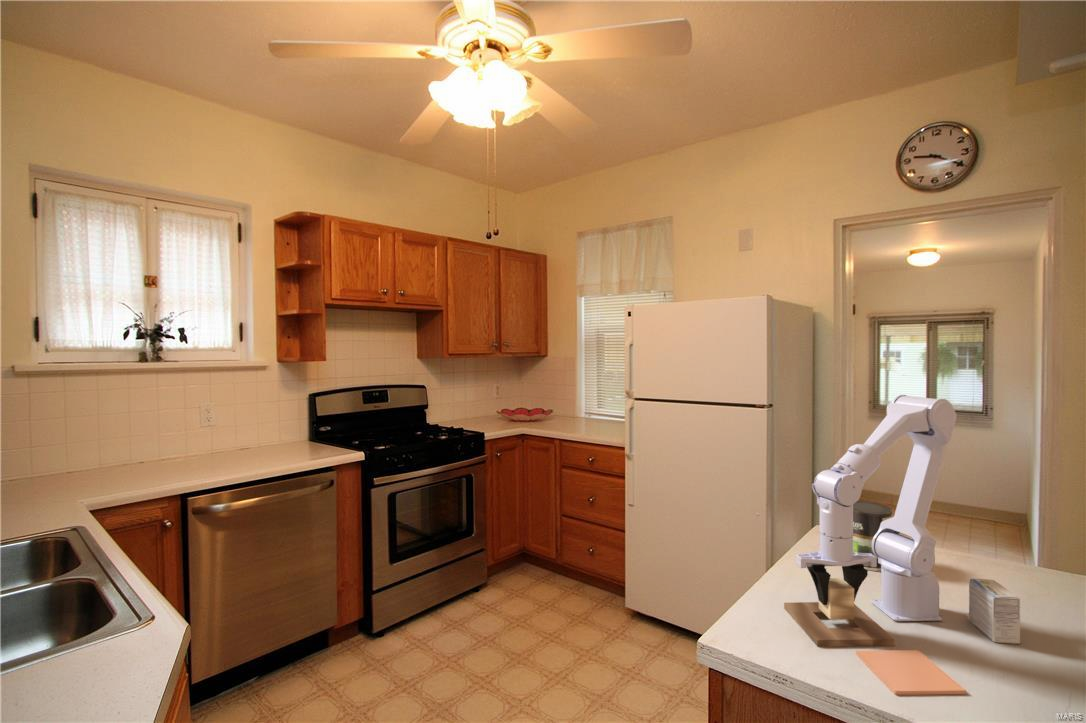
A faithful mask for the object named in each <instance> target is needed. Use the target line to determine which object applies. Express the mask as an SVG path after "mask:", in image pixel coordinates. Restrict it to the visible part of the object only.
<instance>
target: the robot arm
mask: <svg viewBox="0 0 1086 723" xmlns="http://www.w3.org/2000/svg"><path fill="white" fill-rule="evenodd" d="M957 418H958V415H957V413H956V411H955V408H954V407H953V405H952V403H951V402H950V401H949V400H947V399H945V398H930V397H921V396H912V395H906V394H899V395H896V396H895V397H894V398H893V399H892V400H891V402H890V403H889V404H887V406H886V415H885V417H884V418H883V419H882V421H881V422H880V423H879V425H878V426H877V427H876V428H875V430H873V432H872V433H871V434H870V436H869V437H868V438H867V440H866V441H865V442H864V443H863V444H862V443H858V444H857V443H856V444H853V445H851V446H850V447H848V449H847V451H846V453H845V454H843V455H842V457H840V458H839V460H838V461H837V462H836V463H835V464H834V465H833V466H832V467H831V468H830V469H826V470H825V469H824V470H822V471H820V472H818V474H817V475H816V476H815V478H814V481H813V483H812V484H811V489H812V491H813V493H814V495H815V496H816V504H817V505H818V507H819V550H817V551H813V552H808V553H802V554H801V553H800V554H799V553H798V554H796V557H795V558H796V561H795V562H796V565H797V566H798V567H799V568H800V569H807V570H808V572H809V574H810V576H811V578H812V581H813V584H814V585H815V590H816V594H817V599H818V602H819V601H820V602H821V603H822V604H823V605H827V602H828V584H829V580H830V578H831V574H830V573H829V572H828V571H827V568H825V567H841V569H842V574H843V575H842V576H843V580H844V581H846V582H847V583H848V584H849V585H851V586H852V587H853V588H854V602H855V601H856V598H857V594H858V592H859V589H860V587H861V585H862V584H863V582H864V580H865V579H866V578H867V577H868V575H869V574H868V571H869V570H866V569H865V568H864V566H870V567H877V557H878V563H880V564H881V571H880V573H881V574H880V575H881V576H880V599H871V603H872V604H873V605H874V606H875V607H876V608H878V609H879V610H880V611H882V612H883V613H885V615H886V616H888V617H889V618H890V619H891V620H892V621H894V622H895V621H896V622H918V621H919V622H920V621H921V622H925V621H926V622H927V621H928V622H930V621H934V622H935V621H943V618H942V616H940V584H939V581H938V578H937V576H936V575H935V573H934V572H933V571H932V570H933V568H934V566H935V562H936V555H935V552H936V549H935V548H936V544H937V541H936V539H935V538H934V536H933V534H931V532H930V531H929V530H928V529H927V527H926V523H927V520H928V516H929V513H930V510H931V505H932V503H933V499H934V495H935V492H936V487H937V485H938V480H939V477H940V474H941V471H942V466H943V462H944V460H945V459H944V458H945V456H946V451H947V449H948V444H949V443H951V439H952V435H953V432H954V428H955V424H956V421H957ZM904 435H906V436H907V437H909V438H910V439H911V441H912V443H913V448H912V451H911V455H910V458H909V462H908V466H907V468H906V472H905V476H904V481H903V484H902V486H901V487H902V488H901V490H900V494H899V498H898V501H897V504H896V508H895V512H894V516H892V518H890V519H887V520H885V521H883V522H881V524H880V528H879V530H878V532H877V533H876V534H875V535H874V537H873V540H872V551H873V553H874V555H875V556H876V557H875V556H874V555H872V554H871V553H857V552H853V504H854V503H855V502H857V501H860V498H861V495H862V491H863V488H865V486H864V485H865V482H866V481H867V480H868V479H869V478H870V477H871V476H872V474H874V473H875V472H876V470H877V469H878V468H879V467H880V466H881V464H882V458H881V456H882V455H883V454H884V453H885V452H886V451H887V450H888V449H889V448H891V447H892V446H893V445H894V444H895V443H896V442H897V441H899V439H901V438H902V437H904ZM902 534H904V535H906V536H904V535H902ZM907 536H909V537H907ZM910 537H911V538H910Z"/></svg>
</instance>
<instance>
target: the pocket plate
mask: <svg viewBox="0 0 1086 723" xmlns="http://www.w3.org/2000/svg"><path fill="white" fill-rule="evenodd" d="M783 609H784V610H785V611H786V612H787V613H788V614H789V616H790V617H791V618H792V619H793V621H795V623H796V624H797V626H799V627H800V629H802V631H803V632H804V633H805V634H806V636H808V637H809V639H810V640H811V641H812V642H813V643H814V644H815V646H817V647H877V646H878V647H883V646H885V647H887V646H888V647H889V646H892V647H893V646H896V645H895V644H896V639H895V638H894V637H893V636H892V635H891V634H890V633H888V632H887V631H886V630H885V629H884V628H883V627H881V625H880V624H878V623H877V622H876V621H875V620H874V619H872V618H871V617H870V616H869V615H868V614H867V613H866V612H864V611H863V610H862V609H861V608H860V607H859V606H857V605H856V604H855V603H854V619H848V620H845V621H846V622H847V623H848V624H849V625H850V626H851V627H828V626H827V625H826V624H825V623H824V622H823V621H822V620H821V619H826V618H827V619H829V618H828V617H827V616H826V615H825V614H824V613H823V612H822V611H821V610H820V609H819V601H814V602H813V601H810V602H809V601H808V602H804V601H803V602H783Z"/></svg>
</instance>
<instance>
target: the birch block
mask: <svg viewBox="0 0 1086 723" xmlns="http://www.w3.org/2000/svg"><path fill="white" fill-rule="evenodd" d="M818 602H819V609H820V610H821V611H822V612H823V613H824V614H825V615H826V616H827V617H828V618H827V619H829V620H830V621H831V620H832V621H835V620H839V621H840V620H841V621H842V620H844V621H846V620H848V619H854V604H855V601H854V588H853V587H852V586H851V585H849V584H848V583H847V582H846V581H844V578H841V577H830V580H829V584H828V602H827V605H823V604H822V603H821V602H820V601H819V600H818Z"/></svg>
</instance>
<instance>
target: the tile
mask: <svg viewBox="0 0 1086 723" xmlns="http://www.w3.org/2000/svg"><path fill="white" fill-rule="evenodd" d="M855 655H856V656H857V658H859V659H860V660H861V662H863V663H864V664H865V666H867V668H869V669H870V671H872V673H873V674H874V675H875V676H876V677H877V678H878V679H879V680H880V681H881V682H882V683H883V684H884V685H885V686H886V688H888V689H889V690H890V691H891V692H892V693H893V694H894V696H896V695H897V696H903V695H905V696H907V695H908V696H913V695H915V696H916V695H919V696H920V695H921V696H922V695H924V696H925V695H966V694H967V693H966V692H967V690H966V689H965V687H963V686H961V685H960V684H959V683H958V682H957V681H955V679H953V678H952V677H951V676H950V675H948V674H947V673H946V672H945V671H943V669H941V668H940V667H939V666H938V665H936V664H935V663H934V662H933V661H932V660H930V658H928V657H927V656H926V655H925V654H923V653H922V652H921V651H920V650H919V649H905V650H904V649H899V650H898V649H897V650H895V649H892V650H890V649H889V650H855Z"/></svg>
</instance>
